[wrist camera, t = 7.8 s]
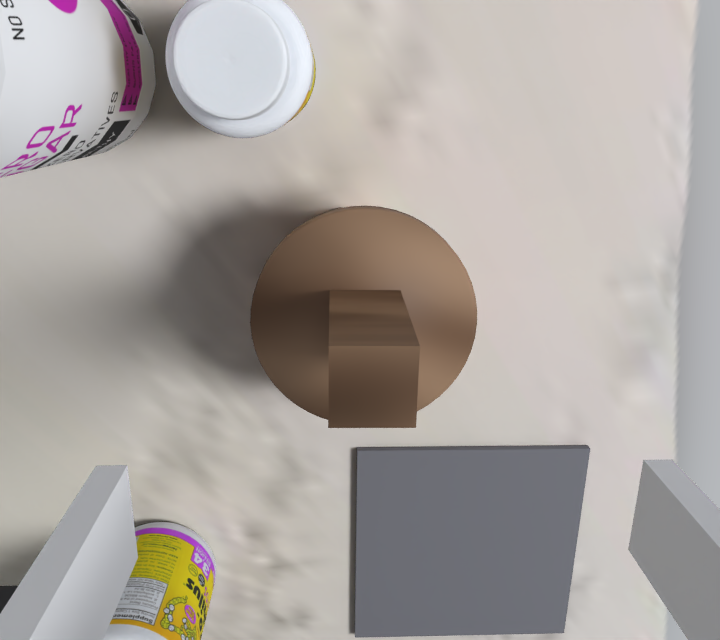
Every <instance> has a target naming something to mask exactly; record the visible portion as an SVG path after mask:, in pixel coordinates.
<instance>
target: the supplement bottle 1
mask: <svg viewBox="0 0 720 640" xmlns="http://www.w3.org/2000/svg"><path fill="white" fill-rule="evenodd" d="M135 536H136V544H137V553H138V559H137V561H136V563H135V566H134V568H133V570H132V573H131V575H130V577H129V580H128V582H127V584H126V587H125V589H124V591H123V594H122V596H121V599H120V601H119V603H118V606H117V608H116V610H115V613H114V615H113V617H112V620H111V622H110V624H109V627H108V629H107V631H106V634H105V636H104V638H103V640H201V636H202V632H203V627H204V624H205V620H206V616H207V611H208V608H209V603H210V599H211V595H212V591H213V587H214V582H215V577H216V562H215V558H214V555H213V553H212V551H211V549H210V547H209V545H208V544H207V543H206V541H205V540H204V539H203V538H202V537H201V536H200V535H198V534H197V533H196V532H194V531H193V530H191V529H189V528H187V527H184V526H182V525H179V524H175V523H170V522H154V523H148V524H144V525H140V526H138V527H135Z"/></svg>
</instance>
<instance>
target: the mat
mask: <svg viewBox="0 0 720 640" xmlns="http://www.w3.org/2000/svg"><path fill="white" fill-rule="evenodd" d="M589 453H590V448H589V446H588V445H574V446H460V447H357V500H356V579H355V637H400V636H448V635H496V634H545V633H564V628H565V621H566V614H567V607H568V600H569V593H570V586H571V579H572V572H573V565H574V558H575V551H576V544H577V537H578V530H579V523H580V516H581V509H582V502H583V495H584V488H585V481H586V474H587V467H588V460H589Z"/></svg>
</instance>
